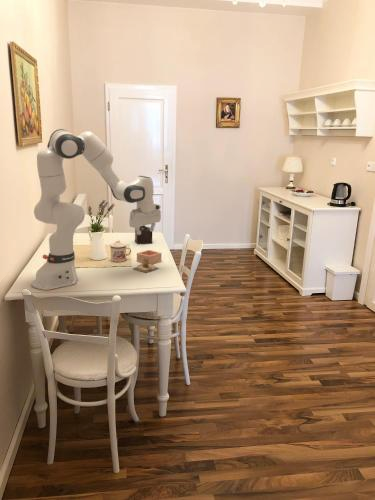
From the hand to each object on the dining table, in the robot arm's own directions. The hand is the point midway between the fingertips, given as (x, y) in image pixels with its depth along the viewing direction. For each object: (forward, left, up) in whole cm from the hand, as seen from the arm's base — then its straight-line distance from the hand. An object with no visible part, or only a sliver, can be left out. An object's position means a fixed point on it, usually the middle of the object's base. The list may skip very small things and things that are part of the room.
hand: (145, 232), depth 216 cm
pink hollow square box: (+11, +8, -20) cm, 24 cm away
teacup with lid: (+2, +22, -20) cm, 30 cm away
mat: (0, 0, -20) cm, 20 cm away
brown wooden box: (+38, +39, -21) cm, 58 cm away
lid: (0, 0, -20) cm, 20 cm away
